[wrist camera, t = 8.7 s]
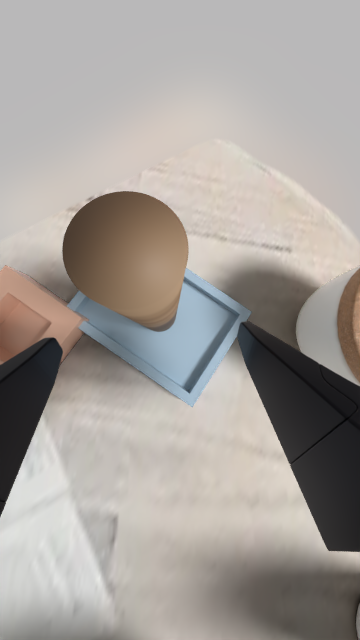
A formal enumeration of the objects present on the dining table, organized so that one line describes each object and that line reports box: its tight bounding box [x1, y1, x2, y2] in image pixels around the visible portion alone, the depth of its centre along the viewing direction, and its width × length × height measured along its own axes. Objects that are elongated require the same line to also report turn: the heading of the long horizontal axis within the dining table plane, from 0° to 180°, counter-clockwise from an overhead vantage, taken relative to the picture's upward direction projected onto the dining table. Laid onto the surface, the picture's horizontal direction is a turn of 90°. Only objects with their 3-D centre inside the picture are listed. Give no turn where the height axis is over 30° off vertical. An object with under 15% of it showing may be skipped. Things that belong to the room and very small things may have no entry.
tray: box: [67, 268, 252, 407], centre depth 16 cm, size 14×10×2 cm
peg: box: [62, 191, 188, 332], centre depth 10 cm, size 3×3×12 cm
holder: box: [0, 265, 89, 365], centre depth 15 cm, size 8×8×2 cm
